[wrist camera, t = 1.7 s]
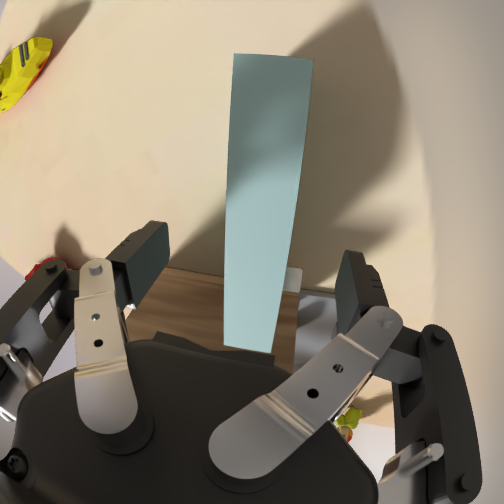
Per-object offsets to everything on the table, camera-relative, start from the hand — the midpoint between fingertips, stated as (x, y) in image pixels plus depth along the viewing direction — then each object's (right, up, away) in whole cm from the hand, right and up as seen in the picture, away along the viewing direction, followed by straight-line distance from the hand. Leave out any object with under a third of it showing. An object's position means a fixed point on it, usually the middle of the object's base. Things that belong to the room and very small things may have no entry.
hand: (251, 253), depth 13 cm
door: (+2, +7, +10) cm, 13 cm away
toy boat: (-27, +21, +8) cm, 35 cm away
